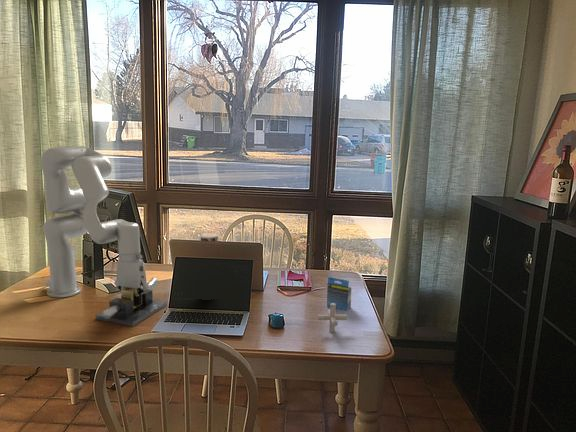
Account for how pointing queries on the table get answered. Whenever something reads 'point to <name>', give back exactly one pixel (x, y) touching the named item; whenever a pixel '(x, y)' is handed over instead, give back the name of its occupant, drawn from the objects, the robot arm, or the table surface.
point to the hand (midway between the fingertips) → (132, 303)
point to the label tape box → (339, 293)
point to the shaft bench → (136, 314)
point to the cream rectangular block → (129, 295)
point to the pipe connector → (332, 317)
